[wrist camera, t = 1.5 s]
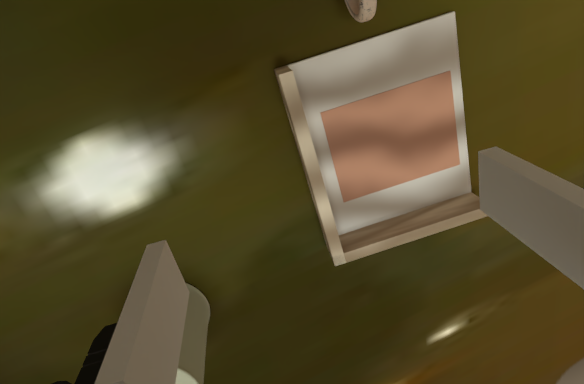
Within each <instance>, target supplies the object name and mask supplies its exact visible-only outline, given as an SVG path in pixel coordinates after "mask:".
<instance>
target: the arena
mask: <svg viewBox="0 0 584 384" xmlns="http://www.w3.org/2000/svg"><path fill="white" fill-rule="evenodd" d="M274 72H275V75H276V78H277V82H278V85H279V88H280V92H281V95H282V98H283V102H284V105H285V108H286V112H287V115H288V118H289V122H290V125H291V128H292V132H293V135H294V138H295V142H296V145H297V148H298V152H299V155H300V158H301V162H302V165H303V168H304V172H305V175H306V178H307V182H308V185H309V189H310V192H311V195H312V199H313V202H314V205H315V209H316V212H317V215H318V219H319V222H320V225H321V229H322V232H323V235H324V239H325V242H326V245H327V248H328V250H329V253H330V255H331V257H332V260H333V262H334V265H335V266H337V265H340V264H344V263H347V262H350V261H353V260H356V259H359V258H362V257H365V256H368V255H371V254H374V253H377V252H380V251H383V250H386V249H389V248H392V247H395V246H398V245H401V244H404V243H407V242H410V241H413V240H416V239H420V238H423V237H426V236H429V235H432V234H435V233H438V232H441V231H444V230H447V229H450V228H453V227H456V226H459V225H462V224H465V223H468V222H471V221H474V220H477V219H480V218H483V217H486V216H488V215H487V214H485V213H484V212H483V211H481V210H480V198H479V197H478V196H476V195H475V194H474V193H472V192H471V182H470V172H469V161H468V150H467V139H466V128H465V117H464V106H463V96H462V85H461V74H460V63H459V52H458V41H457V30H456V20H455V12H449V13H446V14H443V15H440V16H437V17H434V18H430V19H427V20H424V21H421V22H418V23H415V24H412V25H409V26H406V27H403V28H400V29H397V30H393V31H390V32H387V33H384V34H381V35H378V36H375V37H372V38H369V39H366V40H363V41H360V42H356V43H353V44H350V45H347V46H344V47H341V48H338V49H335V50H332V51H329V52H326V53H323V54H319V55H316V56H313V57H310V58H307V59H304V60H301V61H298V62H295V63H292V64H289V65H286V66H282V67H279V68H276V69H274Z"/></svg>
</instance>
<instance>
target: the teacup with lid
mask: <svg viewBox="0 0 584 384" xmlns="http://www.w3.org/2000/svg"><path fill="white" fill-rule="evenodd" d="M345 3H346V6H347V8H348V10H349V12H350V14H351V16H352V17H353V18H354V19H355V20H356V21H358V22H365V21H368V20H370V19H372V18H373V17H374V15H375V12H376V6H377V0H345Z"/></svg>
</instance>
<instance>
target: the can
mask: <svg viewBox="0 0 584 384" xmlns="http://www.w3.org/2000/svg"><path fill="white" fill-rule="evenodd" d="M186 286H187V288H188V290H189V292H190V293H189V300H188V306H187V312H186V319H185V325H184V332H183V338H182V344H181V351H180V357H179V363H178V370H177V376H176V382H175V384H203V381H204V365H205V352H206V340H207V329H208V322H209V319H210V306H209V303H208V301H207V299H206V297H205V296H204V295H203V294H202V293H201V292H200V291H199V290H198V289H197V288H195V287H193V286H192V285H190V284H187V283H186Z"/></svg>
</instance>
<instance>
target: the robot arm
mask: <svg viewBox="0 0 584 384" xmlns="http://www.w3.org/2000/svg"><path fill="white" fill-rule="evenodd" d="M478 163H479V195H480V210H481V211H483V212H484V213H485V214H487V215H488V216H489V217H491V218H492V219H493V220H494V221H496V222H497V223H498V224H500V225H501V226H502V227H504V228H505V229H506V230H507V231H509V232H510V233H511V234H513V235H514V236H515V237H517V238H518V239H519V240H520V241H522V242H523V243H524V244H526V245H527V246H528V247H530V248H531V249H532V250H533V251H535V252H536V253H537V254H539V255H540V256H541V257H543V258H544V259H545V260H546V261H548V262H549V263H550V264H552V265H553V266H554V267H556V268H557V269H558V270H559V271H561V272H562V273H563V274H565V275H566V276H567V277H569V278H570V279H571V280H572V281H574V282H575V283H576V284H578V285H579V286H580V287H582V288H583V289H584V188H580V187H578V186H576V185H574V184H572V183H570V182H568V181H566V180H564V179H562V178H560V177H558V176H556V175H554V174H552V173H550V172H547V171H545V170H543V169H541V168H539V167H537V166H535V165H533V164H531V163H529V162H527V161H525V160H523V159H521V158H519V157H516V156H514V155H512V154H510V153H508V152H506V151H504V150H502V149H500V148H498V147H493V148H489V149H486V150H482V151H478ZM189 293H190V292H189V290H188V288H187V286H186V283H185V281H184V279H183V277H182V275H181V272H180V270H179V268H178V266H177V264H176V261H175V259H174V257H173V255H172V253H171V250H170V248H169V246H168V244H167V242H166V240H163V241H159V242H156V243H152V244H149V245H147V246H146V249H145V252H144V254H143V257H142V259H141V262H140V265H139V267H138V270H137V273H136V275H135V278H134V281H133V283H132V286H131V289H130V291H129V294H128V296H127V299H126V302H125V304H124V307H123V310H122V312H121V315H120V318H119V320H118V323H115V324H112V325H108V326H105V327H104V328H103V329H102V330H101V332H100V333H99V334H98V335H97V336H96V338H95V339H94V340H93V342H92V345H91V347H90V349H89V352H88V356H86V359H85V361H84V363H83V367H82V368H81V370H80V372H79V375H78V377H77V379H76V382H75V384H175V382H176V376H177V370H178V363H179V357H180V351H181V344H182V338H183V332H184V325H185V319H186V312H187V306H188V300H189ZM52 384H71V383H69V382H67V381H57V382H55V383H52Z"/></svg>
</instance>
